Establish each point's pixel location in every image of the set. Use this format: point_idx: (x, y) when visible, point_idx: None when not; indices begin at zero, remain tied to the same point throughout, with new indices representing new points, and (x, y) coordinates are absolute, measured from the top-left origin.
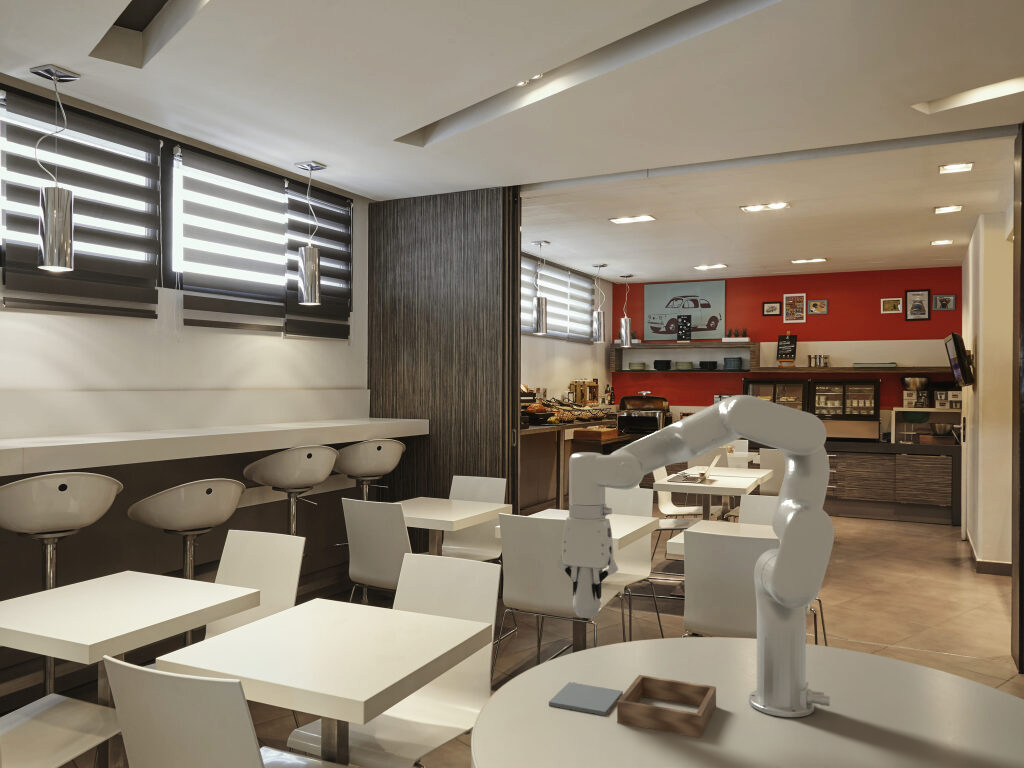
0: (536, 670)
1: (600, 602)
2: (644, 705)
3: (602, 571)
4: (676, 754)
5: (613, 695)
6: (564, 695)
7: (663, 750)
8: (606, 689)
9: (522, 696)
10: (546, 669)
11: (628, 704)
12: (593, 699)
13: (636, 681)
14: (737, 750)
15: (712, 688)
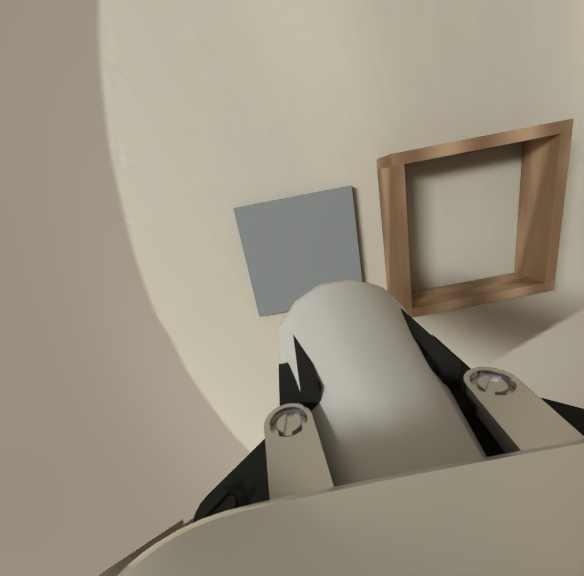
0: (116, 166)
1: (406, 312)
2: (452, 306)
3: (571, 435)
4: (496, 346)
5: (345, 219)
6: (266, 276)
7: (477, 345)
8: (319, 198)
9: (196, 306)
10: (129, 144)
11: (423, 314)
12: (321, 260)
13: (401, 200)
14: (576, 286)
15: (566, 136)
